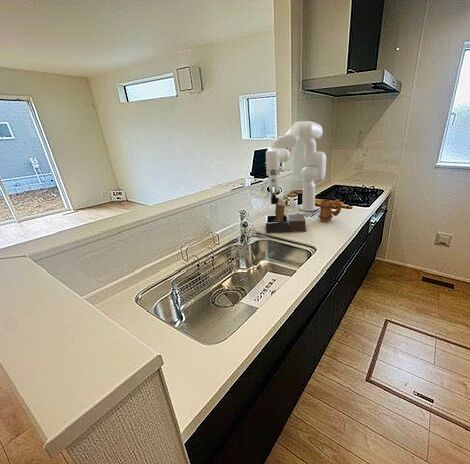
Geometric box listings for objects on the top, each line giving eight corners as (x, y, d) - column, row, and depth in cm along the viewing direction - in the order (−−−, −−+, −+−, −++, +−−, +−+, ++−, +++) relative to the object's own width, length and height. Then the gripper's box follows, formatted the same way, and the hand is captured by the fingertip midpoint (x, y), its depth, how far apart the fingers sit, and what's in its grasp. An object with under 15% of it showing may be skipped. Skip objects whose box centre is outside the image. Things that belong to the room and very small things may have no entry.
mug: (317, 222, 166) (318, 200, 160) (318, 218, 173) (319, 197, 167) (340, 224, 162) (341, 201, 156) (340, 219, 170) (342, 198, 164)
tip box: (282, 214, 162) (271, 213, 161) (284, 194, 156) (273, 193, 156) (283, 221, 149) (271, 220, 149) (285, 200, 144) (273, 199, 144)
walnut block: (279, 218, 161) (279, 224, 163) (273, 219, 161) (273, 224, 163) (279, 221, 157) (279, 227, 159) (273, 221, 157) (273, 227, 159)
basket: (266, 225, 164) (266, 215, 162) (287, 224, 165) (287, 214, 162) (266, 233, 152) (265, 223, 149) (288, 232, 152) (288, 222, 149)
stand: (288, 224, 164) (288, 214, 161) (303, 224, 164) (303, 214, 161) (289, 231, 153) (289, 221, 150) (305, 231, 153) (305, 220, 150)
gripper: (279, 174, 136) (280, 206, 143) (279, 169, 152) (279, 198, 159) (266, 175, 136) (267, 206, 143) (266, 169, 152) (267, 198, 159)
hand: (273, 202), depth 151 cm, fingers open, 6 cm apart
